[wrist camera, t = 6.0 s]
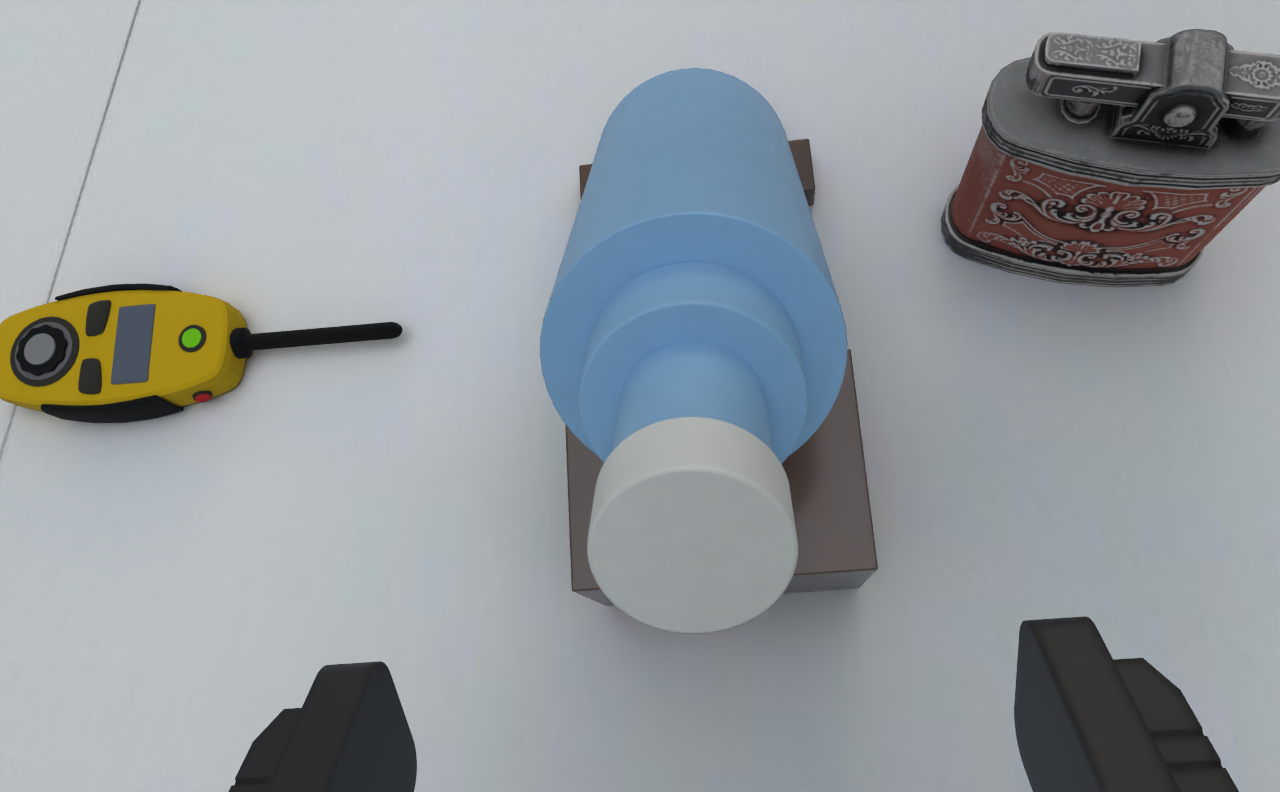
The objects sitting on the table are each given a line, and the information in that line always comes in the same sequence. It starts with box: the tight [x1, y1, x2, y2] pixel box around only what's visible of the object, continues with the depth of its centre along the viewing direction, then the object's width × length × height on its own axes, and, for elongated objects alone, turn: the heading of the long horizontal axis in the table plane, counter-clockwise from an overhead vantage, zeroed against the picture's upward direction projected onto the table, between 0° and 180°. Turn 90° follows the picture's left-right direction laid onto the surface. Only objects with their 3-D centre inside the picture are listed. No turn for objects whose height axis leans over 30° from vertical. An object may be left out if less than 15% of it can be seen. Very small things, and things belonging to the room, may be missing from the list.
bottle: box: [540, 68, 847, 634], centre depth 25 cm, size 18×6×18 cm, turn 3°
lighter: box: [941, 29, 1280, 287], centre depth 28 cm, size 8×3×10 cm, turn 78°
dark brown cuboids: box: [566, 139, 878, 606], centre depth 30 cm, size 8×15×6 cm, turn 3°
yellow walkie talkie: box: [0, 284, 402, 423], centre depth 35 cm, size 5×2×15 cm
